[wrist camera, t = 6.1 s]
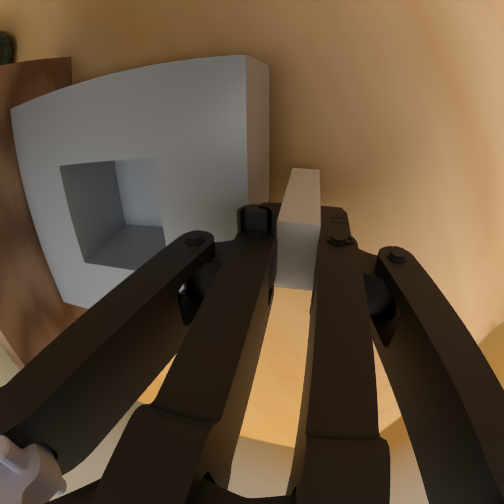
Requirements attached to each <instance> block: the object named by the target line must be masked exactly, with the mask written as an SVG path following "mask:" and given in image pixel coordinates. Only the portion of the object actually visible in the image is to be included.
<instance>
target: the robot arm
mask: <svg viewBox="0 0 504 504" xmlns="http://www.w3.org/2000/svg"><path fill="white" fill-rule="evenodd" d="M237 230H238V232H237V234H236V236H235V238H234V240H230V241H223V242H214V236H213V235H212V234H211V233H209V232H207V231H201V230H196V231H195V230H194V231H190V232H187V233H184V234H183V235H181V236H179V237H178V238H177V239H175V240H174V241H173V242H171V243H170V244H169V245H167V246H166V247H165V248H164V249H162V250H161V251H160V252H158V253H157V254H156V255H155V256H153V257H152V258H151V259H149V260H148V261H147V262H146V263H144V264H143V265H142V266H141V267H139V268H138V269H137V270H136V271H134V272H133V273H132V274H131V275H129V276H128V277H127V278H126V279H124V280H123V281H122V282H121V283H119V284H118V285H117V286H116V287H115V288H113V289H112V290H111V291H110V292H108V293H107V294H106V295H105V296H104V297H102V298H101V299H100V300H99V301H98V302H97V303H95V304H94V305H93V306H92V307H91V308H89V309H88V310H87V311H86V312H85V313H84V314H82V315H81V316H80V317H79V318H78V319H77V320H75V321H74V322H73V323H72V324H71V325H70V326H69V327H67V328H66V329H65V330H64V331H63V332H62V333H61V334H60V335H58V336H57V337H56V338H55V339H54V340H53V341H52V342H51V343H50V344H48V345H47V346H46V347H45V348H44V349H43V350H42V351H41V352H40V353H39V354H38V355H36V356H35V357H34V358H33V359H32V360H31V361H30V362H29V363H28V364H27V365H26V366H25V367H24V368H23V369H22V370H20V371H19V373H17V374H16V375H15V376H14V377H13V378H12V379H11V380H10V381H9V382H8V383H7V384H6V385H4V386H2V387H0V504H389V500H390V451H389V446H388V443H387V441H386V440H385V439H383V438H381V437H380V434H379V429H378V405H377V388H376V374H375V363H374V352H373V343H372V340H373V342H374V344H375V347H376V349H377V352H378V354H379V357H380V359H381V362H382V364H383V367H384V369H385V372H386V374H387V377H388V379H389V382H390V385H391V387H392V390H393V393H394V395H395V398H396V401H397V403H398V406H399V409H400V412H401V415H402V417H403V420H404V423H405V426H406V429H407V432H408V435H409V438H410V441H411V444H412V447H413V450H414V453H415V457H416V460H417V463H418V466H419V470H420V473H421V476H422V480H423V484H424V487H425V490H426V495H427V498H428V501H429V504H504V390H503V388H502V386H501V385H500V383H499V381H498V379H497V377H496V375H495V374H494V372H493V370H492V368H491V367H490V365H489V364H488V362H487V360H486V358H485V356H484V355H483V353H482V352H481V350H480V348H479V347H478V345H477V343H476V342H475V340H474V339H473V337H472V336H471V334H470V333H469V331H468V329H467V328H466V326H465V325H464V323H463V322H462V320H461V319H460V318H459V316H458V315H457V313H456V312H455V310H454V309H453V307H452V306H451V305H450V303H449V302H448V300H447V299H446V298H445V296H444V295H443V294H442V292H441V291H440V289H439V288H438V287H437V285H436V284H435V283H434V281H433V280H432V279H431V277H430V276H429V275H428V274H427V272H426V271H425V270H424V268H423V267H422V266H421V265H420V263H419V262H418V261H417V260H416V258H415V257H414V256H413V255H412V254H411V253H410V252H408V251H406V250H404V249H403V248H400V247H396V246H394V247H393V246H387V247H383V248H381V249H380V250H379V252H378V256H377V255H373V254H370V253H367V252H364V251H362V250H360V249H359V248H358V245H357V241H356V240H355V238H353V237H352V236H351V232H350V227H349V222H348V216H347V213H346V212H345V211H344V210H343V209H342V208H340V207H329V206H320V170H316V169H303V168H292V171H291V175H290V178H289V181H288V185H287V188H286V192H285V195H284V199H283V202H282V203H268V202H263V203H262V204H250V205H245V206H242V207H240V208H239V209H238V210H237ZM274 282H275V287H283V288H293V289H304V290H313V292H312V299H311V306H310V313H309V314H310V325H309V337H308V347H307V357H306V367H305V376H304V385H303V393H302V401H301V409H300V417H299V424H298V431H297V438H296V444H295V451H294V457H293V463H292V469H291V474H290V478H289V482H288V487H287V491H286V496H276V497H265V498H245V497H242V496H239V495H237V494H235V493H232V492H230V491H228V490H227V489H228V485H229V480H230V474H231V465H232V460H233V456H234V452H235V449H236V445H237V441H238V438H239V434H240V430H241V427H242V423H243V419H244V415H245V411H246V407H247V404H248V400H249V396H250V392H251V388H252V384H253V380H254V376H255V372H256V368H257V364H258V360H259V356H260V352H261V347H262V343H263V339H264V335H265V331H266V326H267V322H268V318H269V313H270V309H271V305H272V300H273V296H274ZM182 285H184V289H183V290H182V291H181V292H179V290H180V288H181V287H182ZM176 353H177V355H176ZM175 355H176V357H175V359H174V361H173V363H172V365H171V367H170V369H169V371H168V373H167V375H166V377H165V380H164V382H163V384H162V386H161V388H160V390H159V392H158V394H157V396H156V398H155V400H154V401H153V402H152V403H151V404H144V405H141V406H139V407H138V408H137V409H136V410H135V411H134V413H133V414H132V416H131V417H130V419H129V421H128V423H127V426H126V427H125V429H124V431H123V433H122V436H121V438H120V440H119V442H118V444H117V446H116V448H115V450H114V452H113V454H112V456H111V458H110V461H109V463H108V465H107V467H106V469H105V471H104V473H103V475H102V478H101V479H99V480H97V481H95V482H92V483H90V484H88V485H86V486H84V487H82V488H80V489H78V490H75V491H73V492H71V493H68V494H66V495H64V496H61V497H59V498H57V499H54V500H52V501H49V500H50V499H51V498H52V497H53V496H54V495H61V494H63V493H64V492H65V491H66V486H67V484H66V482H65V480H64V479H63V478H62V475H64V474H66V473H67V472H69V471H71V470H72V469H74V468H75V467H76V466H77V465H78V464H80V463H81V462H82V461H84V460H85V459H86V458H87V457H88V456H89V455H90V454H91V453H92V452H93V451H94V449H95V448H96V447H97V446H98V445H99V444H100V443H101V441H102V440H103V439H104V438H105V437H106V436H107V434H108V433H109V432H110V431H111V430H112V428H113V427H114V426H115V425H116V424H117V423H118V421H119V420H120V419H121V418H122V417H123V416H124V415H125V413H126V412H127V411H128V410H129V409H130V407H131V406H132V405H133V404H134V403H135V402H136V401H137V399H138V398H139V397H140V396H141V395H142V393H143V392H144V391H145V390H146V389H147V388H148V386H149V385H150V384H151V383H152V382H153V381H154V379H155V378H156V377H157V376H158V375H159V373H160V372H161V371H162V370H163V369H164V368H165V366H166V365H167V364H168V363H169V362H170V360H171V359H172V358H173V357H174V356H175Z"/></svg>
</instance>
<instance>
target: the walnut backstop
mask: <svg viewBox="0 0 504 504" xmlns="http://www.w3.org/2000/svg"><path fill="white" fill-rule="evenodd" d="M71 85H72V77H71V57H62V58H50V59H40V60H32V61H25V62H18V63H12V64H6V65H1V66H0V343H1V345H2V347H3V348H4V349H5V351H6V352H7V354H8V355H9V356H10V358H11V359H12V361H13V362H14V363H15V365H16V366H17V367H18V369H19V370H22V369H23V368H24V367H25V366H26V365H27V364H28V363H29V362H30V361H31V360H32V359H33V358H34V357H35V356H36V355H38V354H39V353H40V352H41V351H42V350H43V349H44V348H45V347H46V346H47V345H48V344H50V343H51V342H52V341H53V340H54V339H55V338H56V337H57V336H58V335H60V334H61V333H62V332H63V331H64V330H65V329H66V328H67V327H69V326H70V325H71V324H72V323H73V322H74V321H75V320H77V319H78V318H79V317H80V316H81V315H82V314H84V313H85V312H86V311H87V310H88V309H87V308H83V307H80V306H76V305H72V304H69V303H65V302H64V301H63V299H62V297H61V295H60V292H59V290H58V288H57V285H56V283H55V281H54V278H53V276H52V273H51V271H50V268H49V266H48V263H47V260H46V258H45V255H44V252H43V250H42V247H41V244H40V241H39V238H38V235H37V232H36V229H35V226H34V223H33V219H32V216H31V213H30V209H29V205H28V202H27V198H26V194H25V190H24V186H23V182H22V178H21V173H20V169H19V164H18V159H17V154H16V148H15V142H14V136H13V129H12V122H11V114H10V109H12V108H14V107H16V106H18V105H21V104H23V103H25V102H28V101H30V100H32V99H35V98H37V97H40V96H43V95H45V94H48V93H50V92H53V91H56V90H59V89H62V88H65V87H68V86H71Z"/></svg>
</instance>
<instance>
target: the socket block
mask: <svg viewBox="0 0 504 504" xmlns="http://www.w3.org/2000/svg"><path fill="white" fill-rule="evenodd" d="M10 114H11V122H12V129H13V136H14V142H15V148H16V154H17V159H18V164H19V169H20V173H21V178H22V182H23V186H24V190H25V194H26V198H27V202H28V205H29V209H30V213H31V216H32V219H33V223H34V226H35V229H36V232H37V235H38V238H39V241H40V244H41V247H42V250H43V252H44V255H45V258H46V260H47V263H48V266H49V268H50V271H51V273H52V276H53V278H54V281H55V283H56V285H57V288H58V290H59V292H60V295H61V297H62V299H63V301H64V302H65V303H69V304H72V305H76V306H80V307H83V308H87V309H89V308H91V307H92V306H93V305H94V304H95V303H97V302H98V301H99V300H100V299H101V298H102V297H104V296H105V295H106V294H107V293H108V292H110V291H111V290H112V289H113V288H115V287H116V286H117V285H118V284H119V283H121V282H122V281H123V280H124V279H126V278H127V277H128V276H129V275H131V274H132V273H133V272H134V271H136V270H137V269H138V268H139V267H141V266H142V265H143V264H144V263H146V262H147V261H148V260H149V259H151V258H152V257H153V256H155V255H156V254H157V253H158V252H160V251H161V250H162V249H164V248H165V247H166V246H167V245H169V244H170V243H171V242H173V241H174V240H175V239H177V238H178V237H179V236H181V235H183V234H184V233H187V232H190V231H194V230H195V231H196V230H201V231H207V232H209V233H211V234H212V235H213V236H214V242H223V241H230V240H234V238H235V236H236V234H237V232H238V230H237V210H238V209H239V208H240V207H242V206H245V205H250V204H262V203H263V202H268V203H269V148H270V69H269V65H268V64H266V63H264V62H261V61H259V60H257V59H255V58H253V57H250V56H248V55H246V54H245V55H226V56H213V57H203V58H194V59H186V60H178V61H172V62H165V63H159V64H154V65H148V66H143V67H138V68H133V69H129V70H124V71H120V72H116V73H112V74H108V75H104V76H101V77H97V78H93V79H90V80H86V81H83V82H80V83H77V84H74V85H71V86H68V87H65V88H62V89H59V90H56V91H53V92H50V93H48V94H45V95H43V96H40V97H37V98H35V99H32V100H30V101H28V102H25V103H23V104H21V105H18V106H16V107H14V108H12V109H10ZM183 289H184V285H182V287H181V288H180V290H179V292H181V291H182V290H183Z"/></svg>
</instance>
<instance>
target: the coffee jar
mask: <svg viewBox="0 0 504 504" xmlns="http://www.w3.org/2000/svg"><path fill="white" fill-rule="evenodd" d="M11 58H12V46H11V43H10V40H9V38H8V36H7V35H5V34H4V33H1V32H0V66H1V65H6V64H11Z"/></svg>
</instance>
